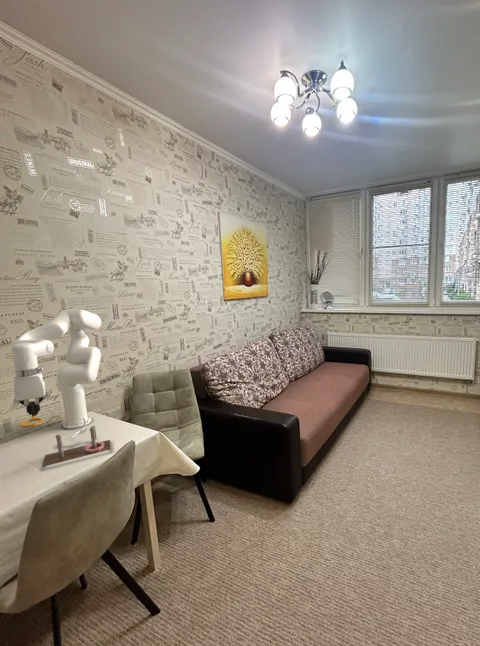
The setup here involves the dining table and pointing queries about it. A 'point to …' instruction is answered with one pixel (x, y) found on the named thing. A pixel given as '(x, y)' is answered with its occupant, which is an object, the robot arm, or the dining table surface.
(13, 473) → the dining table surface
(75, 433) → the hook
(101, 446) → the pink ring
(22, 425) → the brass ring
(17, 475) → the dining table surface
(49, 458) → the peg rack
